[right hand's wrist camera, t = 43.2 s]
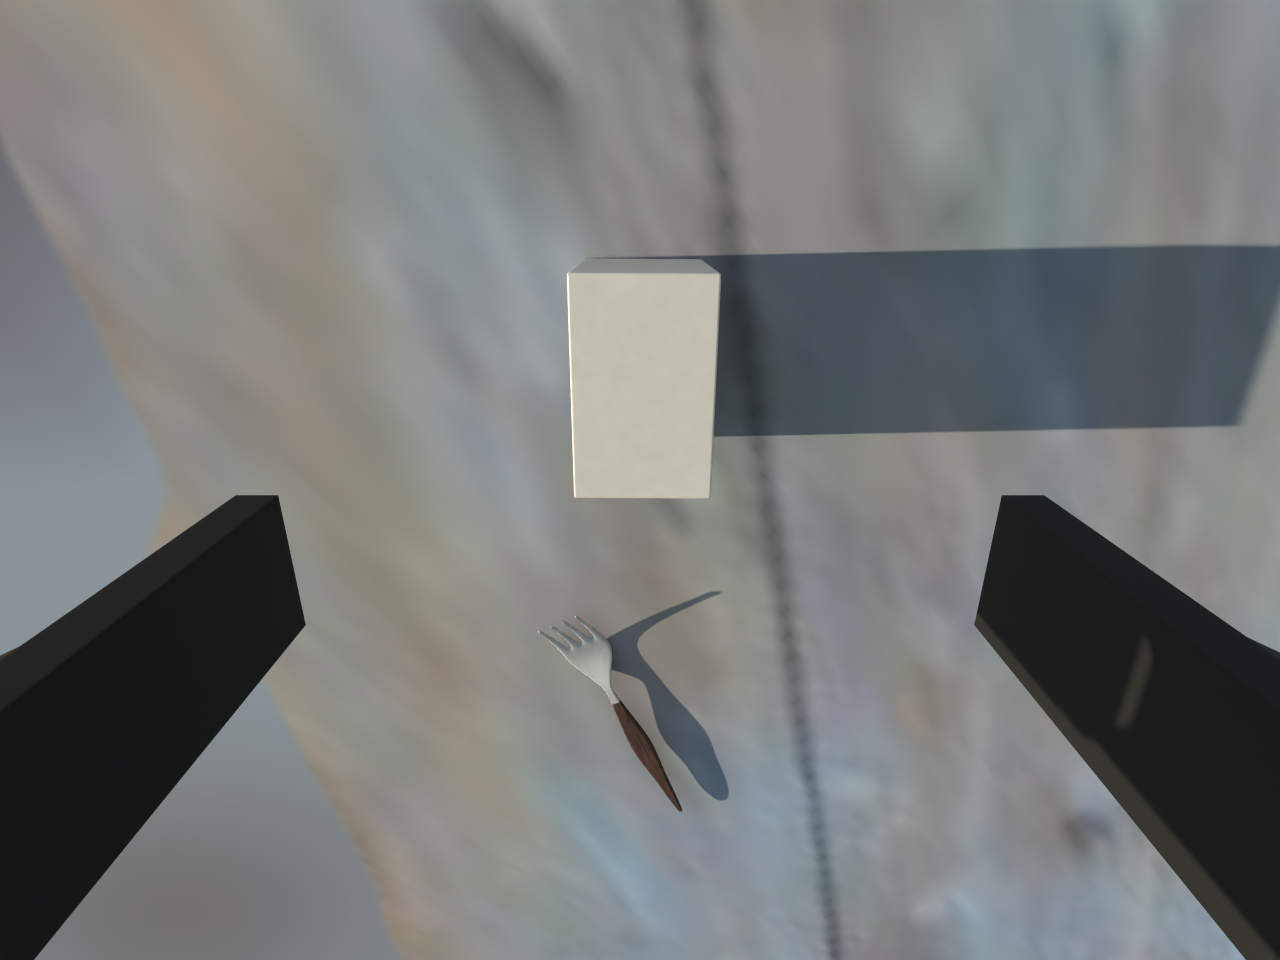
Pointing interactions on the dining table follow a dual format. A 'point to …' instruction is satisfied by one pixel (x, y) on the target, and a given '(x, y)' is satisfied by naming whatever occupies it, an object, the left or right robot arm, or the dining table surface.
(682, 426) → the block
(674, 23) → the dining table surface
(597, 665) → the fork
